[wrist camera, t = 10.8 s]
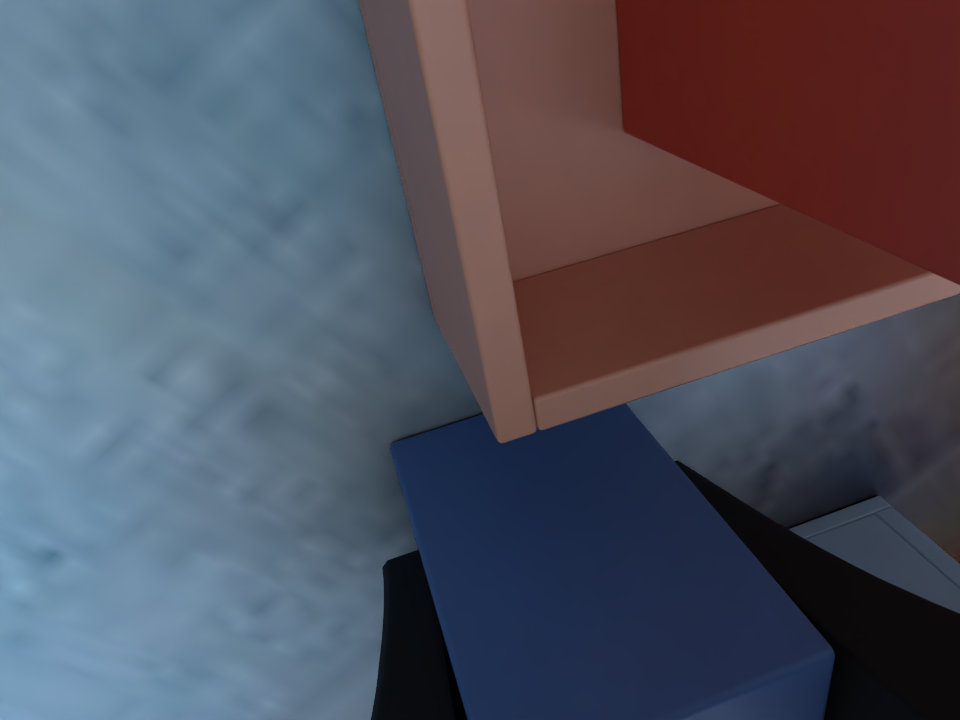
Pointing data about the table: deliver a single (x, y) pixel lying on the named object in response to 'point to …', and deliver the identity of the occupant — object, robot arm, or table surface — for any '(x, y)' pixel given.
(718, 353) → the terracotta bin
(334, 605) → the table surface
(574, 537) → the blue block
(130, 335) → the table surface
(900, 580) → the blue bin
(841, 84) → the red block
